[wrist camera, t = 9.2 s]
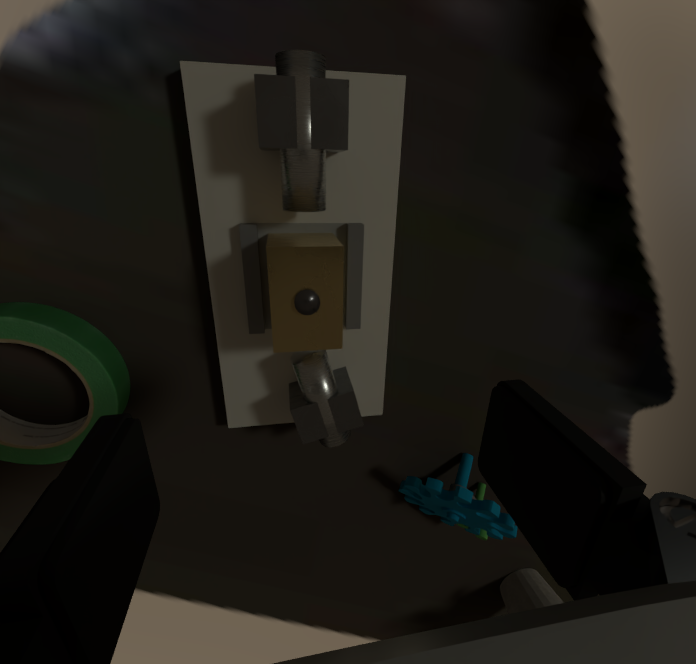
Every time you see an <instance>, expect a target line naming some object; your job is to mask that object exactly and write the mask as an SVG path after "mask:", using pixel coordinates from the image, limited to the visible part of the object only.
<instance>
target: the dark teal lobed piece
mask: <svg viewBox="0 0 696 664" xmlns="http://www.w3.org/2000/svg"><path fill="white" fill-rule="evenodd" d="M472 461H473V456H472V455H470V454H467V453H463V454H462V457H461V461H460V465H459V469H458V473H457V477H456V481H455V484H451V486H450V489H449V491H446V490H443V489H442V488H443V482H442V481H439V480H437V479H433V478H430V477H428V478H427V482H426V485H425V486H424V485H423V484H422V480H420V479H419V478H417V477H413V476H407V479H406V481H402V482H401V485H400V488H399V492H401V493H403V494H405V500H406V501H407V502H409V503H412V504H417V505H419V510H421V511H422V512H424V513H425V514H428V515H438V516H441V519H440V520H441V521H442V522H444V523H446V524H448V525H450V526H454V524H457V525H458V526H460V527H462V528H465V530H466V531H468V532H470V533H473V534H476V535H475V536H476V537H478V538H480V539H483V540H487V537H488V536H490V537H492V538H495V539H500V540H502V538H503V536H505V537H508V538H516V534H517V526H515V525H514V524H515V522H514V520H513V519H512V517H511V516H510V515H509V514H505V513H500V508H501V507H500V506H499V505H498V504H496V503H495V502H494V501H491V500H483V497H484V493H485V488H486V485H485V484H483V483H478V487H477V491H476V496H475V497H474V496H473V492H471V491H470V490H468V489H467V488H466V487H467V483H468V478H469V474H470V470H471V466H472Z"/></svg>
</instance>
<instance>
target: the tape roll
mask: <svg viewBox="0 0 696 664" xmlns="http://www.w3.org/2000/svg"><path fill="white" fill-rule="evenodd" d="M0 343H18V344H22V345H26V346H30V347H34V348H37V349H40V350H43V351H45V352H46V353H48V354H50V355H52V356H54V357H56V358H58V359H59V360H61V361H62V362H64V363H65V364H66V365H68V366H69V367H70V368H71V370H73V371H74V372H75V373H76V374H77V376H78V377H79V378H80V379H81V381H82V382H83V384H84V386H85V388H86V390H87V394H88V397H89V402H90V406H89V411H88V415H87V416H85V417H83V418H81V419H79V420H77V421H74V422H71V423H66V424H60V425H42V424H35V423H31V422H27V421H24V420H21V419H18V418H15V417H13V416H11V415H9V414H7V413H5V412H4V411H2V410H1V409H0V460H3V461H7V462H13V463H21V464H52V463H53V464H54V463H59V462H63V461H66V460H70V459H71V457H72V456H73V454H74V453H75V451H76V450H77V449H78V447H79V446H80V444H81V443H82V441H83V440H84V439H85V437H86V436H87V434H88V433H89V431H90V430H91V429H92V427H93V426H94V424H95V423H96V421H97V420H98V419H99V418H100V417H101V416H104V415H116V414H122V413H123V412H124V410H125V408H126V406H127V403H128V400H129V396H130V378H129V373H128V369H127V367H126V364H125V362H124V360H123V358H122V356H121V354H120V353H119V351H118V350H117V348H116V347H115V346H114V345H113V343H112V342H111V341H110V340H109V339H108V338H107V337H106V336H105V335H104V334H103V333H101V332H100V331H99V330H98V329H96V328H95V327H94V326H92V325H91V324H89V323H88V322H86V321H85V320H83V319H81V318H79V317H77V316H75V315H73V314H71V313H69V312H66V311H64V310H61V309H58V308H54V307H51V306H47V305H42V304H36V303H26V302H11V303H2V304H0Z"/></svg>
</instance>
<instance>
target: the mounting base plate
mask: <svg viewBox="0 0 696 664" xmlns="http://www.w3.org/2000/svg"><path fill="white" fill-rule="evenodd" d="M180 67H181V74H182V82H183V89H184V97H185V105H186V112H187V120H188V127H189V135H190V142H191V150H192V157H193V165H194V172H195V180H196V187H197V195H198V203H199V210H200V218H201V225H202V233H203V240H204V248H205V255H206V263H207V270H208V278H209V285H210V293H211V301H212V308H213V316H214V323H215V331H216V338H217V346H218V353H219V361H220V368H221V376H222V383H223V391H224V399H225V406H226V414H227V421H228V428H236V427H247V426H258V425H270V424H281V423H293V422H294V420H293V417H292V415H291V412H290V402H289V383H292V382H295V381H298V380H297V377H296V374H295V372H294V369H293V366H292V363H291V360H290V358H291V356H292V355H293V354H294V353H295V352H280V353H274V352H273V338H272V324H271V310H270V296H269V282H268V268H267V253H266V245H267V238H268V233H333V234H334V235H335V236H336V238H337V239H338V240H339V241H340V242H341V243H342V245H343V246H344V268H343V349H329V350H326V352H327V355H328V358H329V361H330V365H331V368H332V370H335V369H338V368H342V367H345V366H346V369H347V372H348V375H349V378H350V381H351V383H352V386H353V389H354V393H355V396H356V400H357V403H358V407H359V410H360V414H361V416H372V415H382V413H383V399H384V384H385V370H386V355H387V341H388V326H389V312H390V298H391V283H392V269H393V254H394V240H395V226H396V211H397V197H398V182H399V168H400V154H401V139H402V125H403V110H404V96H405V81H406V76H402V75H387V74H372V73H357V72H342V71H326V78H331V79H347V80H349V124H348V150H347V151H343V152H339V153H332V152H326V211H321V212H291V211H284V210H283V208H282V187H281V166H280V151H265V150H261V149H260V148H259V142H258V127H257V112H256V97H255V82H254V74H267V75H276V67H266V66H251V65H236V64H220V63H205V62H190V61H180Z"/></svg>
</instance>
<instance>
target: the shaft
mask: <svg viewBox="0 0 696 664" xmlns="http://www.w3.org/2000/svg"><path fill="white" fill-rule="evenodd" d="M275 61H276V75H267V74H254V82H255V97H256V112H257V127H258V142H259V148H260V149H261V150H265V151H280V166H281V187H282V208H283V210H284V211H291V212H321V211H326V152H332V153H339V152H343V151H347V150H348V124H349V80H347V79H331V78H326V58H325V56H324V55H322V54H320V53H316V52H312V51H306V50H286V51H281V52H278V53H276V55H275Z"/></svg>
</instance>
